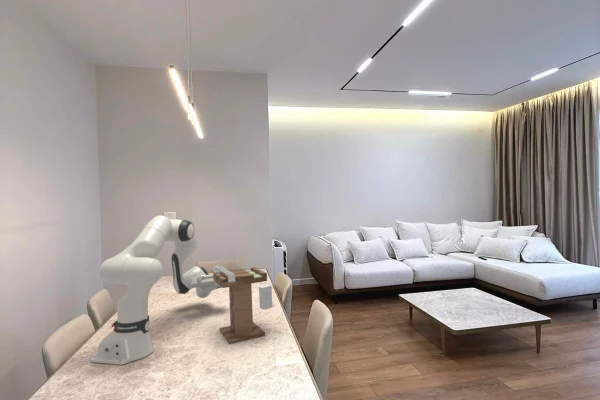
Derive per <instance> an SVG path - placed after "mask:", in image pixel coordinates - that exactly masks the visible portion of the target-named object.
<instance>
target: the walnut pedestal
mask: <svg viewBox="0 0 600 400" xmlns="http://www.w3.org/2000/svg"><path fill="white" fill-rule="evenodd" d="M229 271H231V272H232V273H234V274H235V281H234V282H227V279H226V278H225V277H223V276H222V275H221V274H219V273H218V272H216V273H215V272H213V274H212V275H213V278H214V281H215V282H216V283H217V284H218V285H220V286H221V288H222V289H226V288H228V294H229V317H230V318H229V320H230V322H229V323H230V325H228V326H224V327H219V332H220V334H221V335H222V336H223V338H224V339H225V341H227V342H228V344H229V345H232V344H236V343H240V342H244V341H248V340H252V339H256V338H262V337H264V336H266V333H265V331H264V330H263V329H262V328H261V327H259V325H258V324H256V323H255V322H254V317H253V316H254V315H253V291H252V290H253V289H252V286H253V285H252V284H257V283H262V282H268V273H267V272H265V271H263V270H262V269H259V268H257V267H254V266H253V267H250V270H245V269H243V268H239V269H232V270H229Z"/></svg>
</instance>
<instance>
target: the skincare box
mask: <svg viewBox="0 0 600 400" xmlns="http://www.w3.org/2000/svg"><path fill="white" fill-rule="evenodd" d="M272 291H273V290H272V284H271V285H270V284H264V285H261V286H258V296H259V299H258V300H259V308H260V309H262V310H267V309H269V308H272V307H273V292H272Z"/></svg>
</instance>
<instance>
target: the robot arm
mask: <svg viewBox="0 0 600 400" xmlns="http://www.w3.org/2000/svg"><path fill="white" fill-rule="evenodd" d="M194 225H195V224H194V223H193V222H191V221H190V220H186V219H178V218H177V219H176V218H169V217H167V216H165V215H161V214H159V215H156V216H154V217H153V218H152V219H151V220H149V221H148V223H147V224H146V225H145V226H144V227H143V229H142V230H141V231H140V233H139V234H138V235H137V236H136V238H135V239H134V241H133V242H132V243H131V244H130V245H129V246H127V247H126V248H125V249H123V250H122V251H120V252H119V253H117V254H116V255H114V256H112V257H110V258H106V260H104V261H103V262H102V264H101V265H100V268H99V277H100V279H101V280H102V281H103V282H104V283H106V284H107V283H108V284H112V285H117V286H119V285H121V286H127V290H126V294H124V295H122V296H121V297H119V299H118V300H117V303H116V308H117V311H116V313H117V314H116V315H117V320H114V322H113V323H111V327H110V328H113V330H112V331H110V332H109V333H108V334H107V335H106V336H105V337H104V338H102V339H101V341H99V344H98V346H97V351H96V352H95V353H94V354H93V355H92V356H91V358H90V362H91V363H98V364H108V365H109V364H110V365H121V366H122V365H125V364H129V363H130V362H133V361H137V360H140V359H143V358H145V357H148V356H149V355H151V354H152V353H153V352H154V349H155V348H154V345H153V344H152V340H151V339H152V338H151V333H150V327H151V326H150V325H151V323H150V316H149V296H150V292H151V290H152V288H153V286H154V285H155V284H156V283H157V282H159V280H160V279H161V278H162V276H163V265H162V263H161V261H160V260H159V259H157V258H156V257H157V256H158V255H159V253H160V251H161V250H162V249H163V247H164V245H165V243H166V242H173V244H174V250H173V252H172V255H171V269H172V277H173V279H172V280H173V282H172V284H173V285H172V286H173V289H174V290H175V292H176V293H177V294H180V295H186V294H188V293H189V292H190V291H191V290H192V289H195V294H196V296H197V297H198V298H200V299H204V298H208V297H209V296H210V295H211V294H212V292H213V291H215V290H218V289H221V288H222V287H221V286H220V285H218V284H217V283H216V282H215V281H214V278H213V274H211V275H209V273H208V271H207V269H205V268H204V267H203V266H200V265H195V266H193V267H192V268H191V269H189V270H187V271H186V272H184V273H183V266H184V264H185V262H186V261H187V260H188V259H189V258H190V257H191V256H192V255H193V254H195V252H196V250H197V247H198V242H197V241H198V240H197V238H196V235H195V226H194Z"/></svg>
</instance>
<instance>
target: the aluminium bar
mask: <svg viewBox="0 0 600 400" xmlns="http://www.w3.org/2000/svg"><path fill="white" fill-rule="evenodd" d="M212 269H213V273H216V272H218V273H219V274H221V275H222V276H223V277H225V278H226V279H227V282H234V281H235V274H234V273H232V272H231V271H230V270H229V269H227V268H226V267H224V266H222V265H221V264H215V265H213V267H212Z"/></svg>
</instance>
